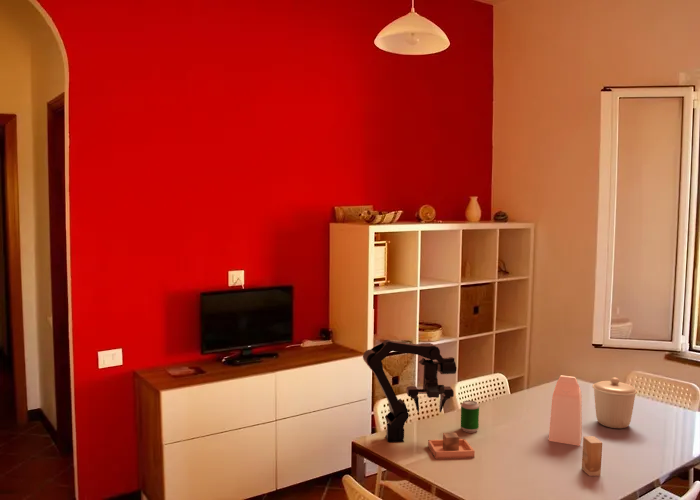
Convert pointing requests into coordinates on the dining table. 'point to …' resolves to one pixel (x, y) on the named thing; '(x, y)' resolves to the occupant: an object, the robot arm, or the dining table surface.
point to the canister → (614, 403)
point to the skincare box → (592, 456)
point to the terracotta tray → (439, 452)
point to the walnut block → (450, 442)
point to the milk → (566, 412)
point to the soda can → (470, 416)
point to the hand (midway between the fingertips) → (429, 412)
